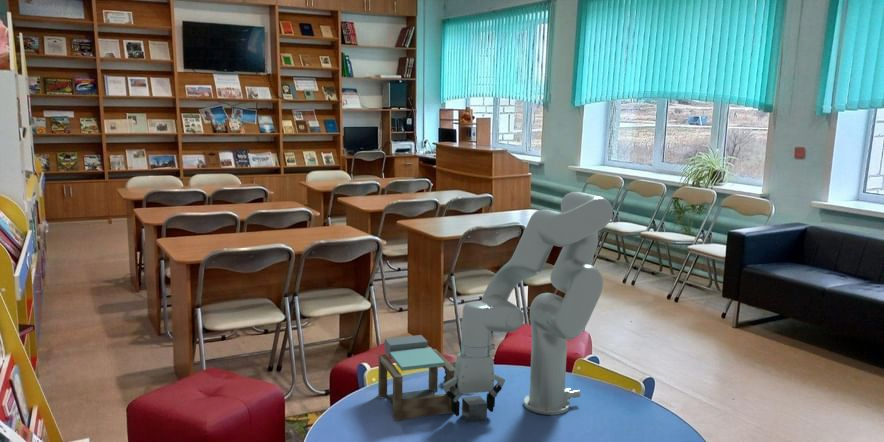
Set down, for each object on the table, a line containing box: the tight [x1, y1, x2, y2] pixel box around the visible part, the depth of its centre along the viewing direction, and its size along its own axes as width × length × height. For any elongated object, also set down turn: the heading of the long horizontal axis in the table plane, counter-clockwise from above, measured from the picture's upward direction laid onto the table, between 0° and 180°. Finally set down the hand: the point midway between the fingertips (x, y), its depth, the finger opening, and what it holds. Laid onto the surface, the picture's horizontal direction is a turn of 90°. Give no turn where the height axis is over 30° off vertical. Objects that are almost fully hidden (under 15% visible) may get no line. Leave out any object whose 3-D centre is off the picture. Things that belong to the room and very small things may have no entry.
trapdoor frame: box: [377, 348, 455, 422], centre depth 188 cm, size 17×17×12 cm
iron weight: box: [461, 395, 488, 424], centre depth 181 cm, size 5×5×5 cm
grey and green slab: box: [384, 334, 445, 372], centre depth 191 cm, size 12×19×4 cm, turn 20°
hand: (472, 411), depth 181 cm, fingers open, 9 cm apart
